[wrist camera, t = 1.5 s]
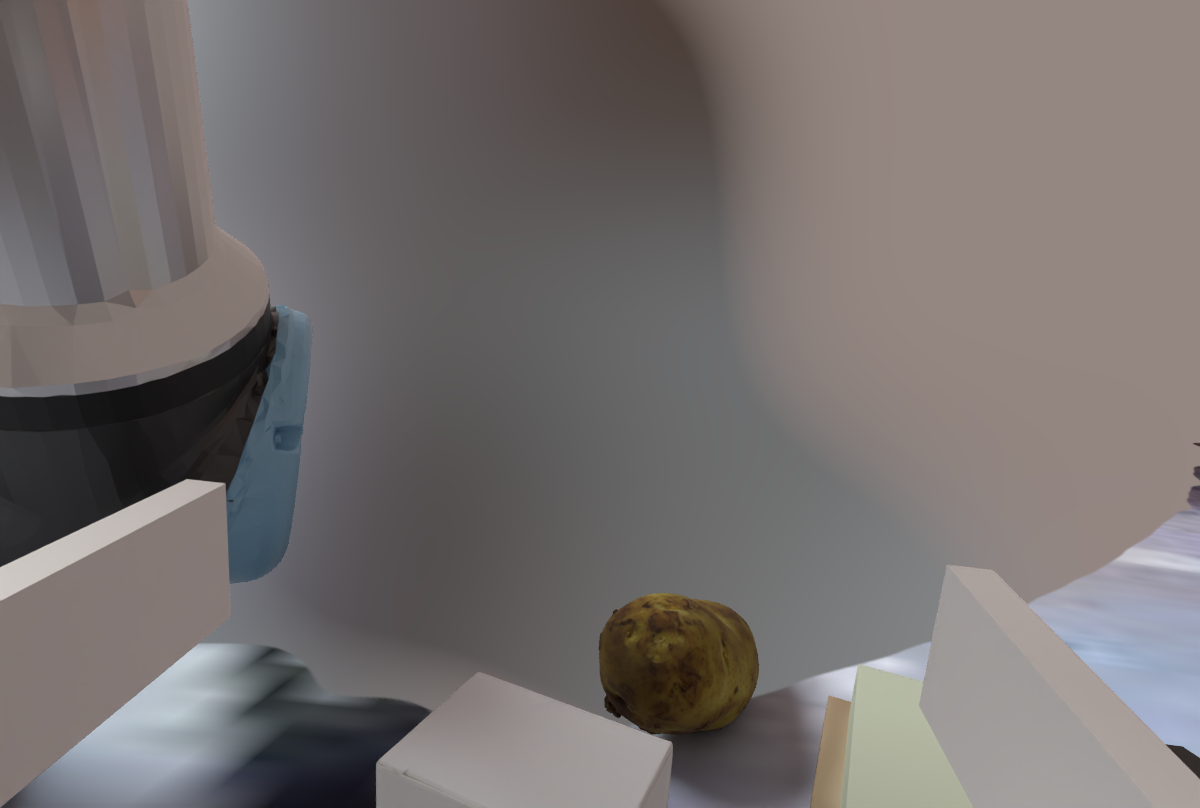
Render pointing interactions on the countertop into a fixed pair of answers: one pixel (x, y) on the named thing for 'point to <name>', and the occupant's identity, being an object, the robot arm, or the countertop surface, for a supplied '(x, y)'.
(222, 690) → the countertop surface
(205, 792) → the countertop surface
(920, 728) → the sage top slab
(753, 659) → the potato
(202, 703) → the countertop surface
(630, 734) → the small box
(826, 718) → the birch base slab
